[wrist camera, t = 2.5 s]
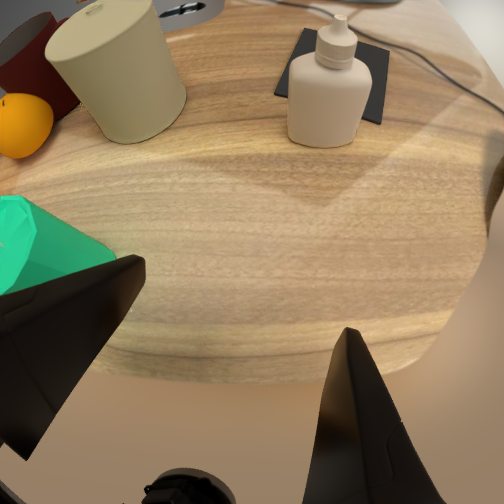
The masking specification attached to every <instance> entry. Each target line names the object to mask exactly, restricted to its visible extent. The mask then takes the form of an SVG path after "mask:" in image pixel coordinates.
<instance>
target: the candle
mask: <svg viewBox="0 0 504 504" xmlns="http://www.w3.org/2000/svg"><path fill="white" fill-rule="evenodd" d="M112 260H116V257H115V255H114V253H113V252H112V251H111V250H109V249H108V248H107V247H106V246H104V245H103V244H102V243H100V242H98V241H97V240H95V239H93V238H91V237H90V236H88V235H86V234H84V233H83V232H81V231H79V230H77V229H76V228H74V227H72V226H70V225H69V224H67V223H65V222H64V221H62V220H60V219H59V218H57V217H55V216H54V215H52V214H50V213H49V212H47V211H45V210H44V209H42V208H40V207H39V206H37V205H35V204H34V203H32V202H31V201H29V200H27V199H26V198H24V197H23V196H21V195H14V196H2V197H1V198H0V296H1V295H4V294H8V293H12V292H15V291H19V290H22V289H25V288H28V287H31V286H34V285H37V284H41V283H43V282H46V281H49V280H53V279H56V278H59V277H62V276H65V275H68V274H71V273H74V272H77V271H80V270H84V269H87V268H90V267H93V266H96V265H99V264H103V263H106V262H109V261H112Z"/></svg>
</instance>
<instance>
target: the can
mask: <svg viewBox="0 0 504 504" xmlns="http://www.w3.org/2000/svg"><path fill="white" fill-rule="evenodd" d="M45 57H46V59H47V60H48V61H49V62H50V63H51V64H52V65H53V66H54V68H55V69H56V70H57V71H58V73H59V74H60V75H61V77H62V78H63V79H64V81H65V82H66V83H67V84H68V86H69V87H70V88H71V90H72V91H73V92H74V93H75V95H76V96H77V97H78V99H79V100H80V101H81V102H82V104H83V105H84V106H85V108H86V109H87V110H88V112H89V113H90V114H91V115H92V117H93V118H94V119H95V121H96V122H97V124H98V125H99V126H100V128H101V130H102V132H103V134H104V135H105V136H106V137H107V138H108V139H109V140H111V141H113V142H116V143H121V144H131V143H137V142H141V141H144V140H147V139H149V138H151V137H153V136H155V135H157V134H159V133H160V132H162V131H163V130H165V129H166V128H167V127H168V126H170V125H171V124H172V123H173V122H174V121H175V119H176V118H177V117H178V116H179V114H180V113H181V111H182V109H183V107H184V105H185V101H186V89H185V86H184V84H183V83H182V81H181V80H180V77H179V75H178V72H177V70H176V67H175V64H174V62H173V59H172V56H171V53H170V51H169V48H168V45H167V42H166V40H165V37H164V34H163V31H162V28H161V25H160V23H159V20H158V17H157V14H156V11H155V8H154V4H153V0H98V1H96V2H94V3H92V4H90V5H88V6H87V7H85V8H83V9H82V10H80V11H79V12H77V13H76V14H74V15H73V16H72V17H71V18H69V19H68V20H67V21H66V22H65V23H63V24H62V25H61V26H60V27H59V28H58V30H57V31H56V32H55V33H54V34H53V36H52V37H51V38H50V40H49V42H48V44H47V46H46V48H45Z"/></svg>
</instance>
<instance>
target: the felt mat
mask: <svg viewBox="0 0 504 504" xmlns="http://www.w3.org/2000/svg"><path fill="white" fill-rule="evenodd" d="M317 32H318V31H317V30H312V29H307V28H304V30H303V32H302V34H301V36H300V38H299V40H298V42H297V44H296V47H295V49H294V51H293V53H292V55H291V57H290V59H289V62H288V64H287V66H286V68H285V70H284V72H283V75H282V77H281V79H280V81H279V83H278V85H277V88H276V90H275V92H274V95H278V96H282V97H286V98H288V89H289V68H290V64H291V62H292V61H293V60H294V59H296V58H297V57H299V56H302V55H305V54H308V53H312V52H315V51H316V41H317ZM389 52H390V51H388V50H385V49H382V48H379V47H376V46H373V45H369V44H366V43H363V42H360V41H358V42H357V46H356V50H355V55H354V58H356V59H358V60H360V61H362V62H363V63H364V64H365V65H366V66H367V67H368V69H369V71H370V74H371V78H372V86H371V90H370V94H369V97H368V100H367V103H366V106H365V109H364V112H363V115H362V118H361V119H364V120H367V121H370V122H373V123H376V124H379V125H380V124H381V120H382V113H383V106H384V99H385V91H386V82H387V73H388V63H389Z"/></svg>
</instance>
